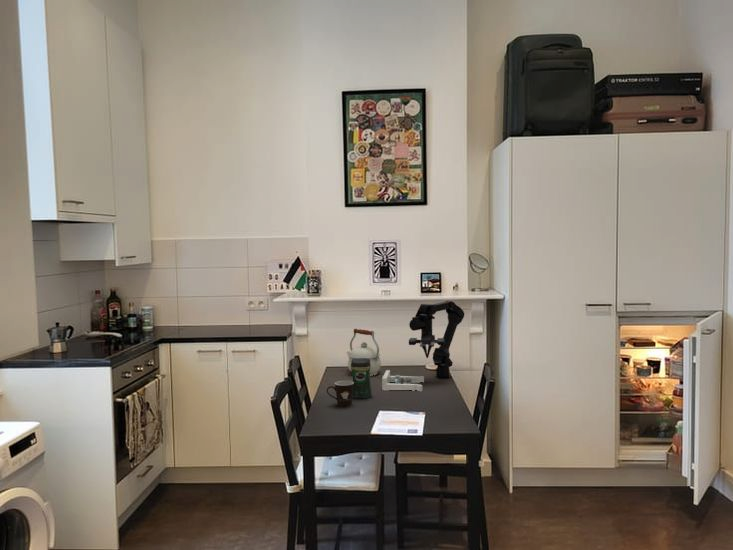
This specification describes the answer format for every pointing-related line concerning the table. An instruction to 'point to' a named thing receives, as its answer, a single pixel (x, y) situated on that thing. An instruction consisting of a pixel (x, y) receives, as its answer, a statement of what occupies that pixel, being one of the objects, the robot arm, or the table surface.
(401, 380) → the egg carton
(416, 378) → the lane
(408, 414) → the table surface
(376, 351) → the kettle
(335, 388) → the coffee mug
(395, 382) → the bar
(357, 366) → the coffee jar
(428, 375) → the table surface
